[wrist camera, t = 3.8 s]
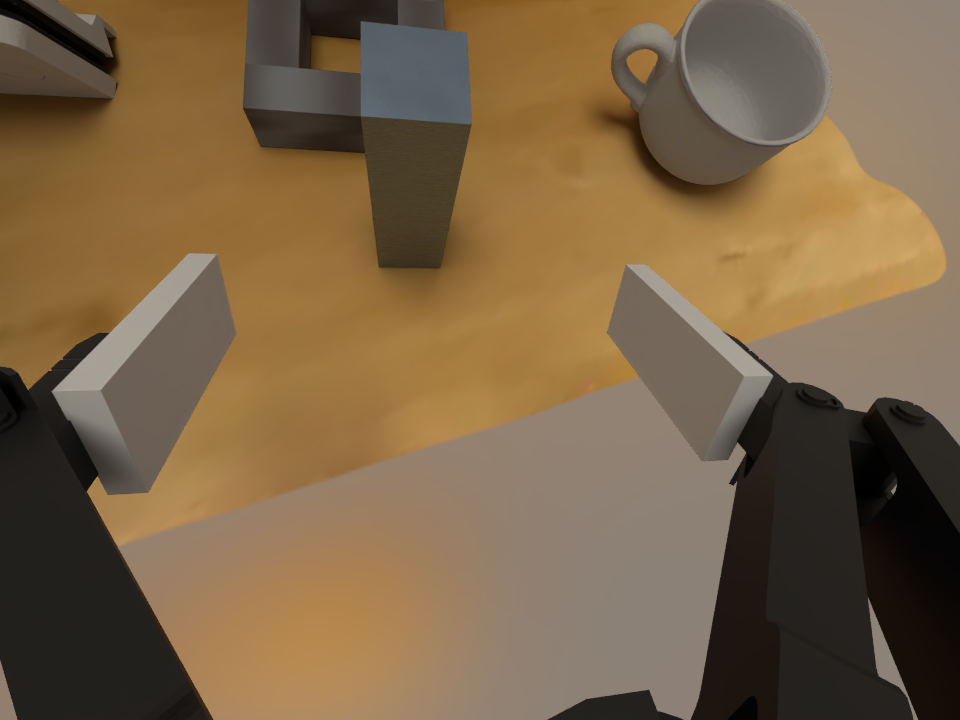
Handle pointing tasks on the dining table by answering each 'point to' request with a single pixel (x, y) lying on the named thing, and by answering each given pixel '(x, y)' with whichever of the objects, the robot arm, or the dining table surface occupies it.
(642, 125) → the teacup
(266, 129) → the brown grey rectangular blocks
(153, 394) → the robot arm
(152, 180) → the dining table surface
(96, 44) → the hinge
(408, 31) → the grey square prism block
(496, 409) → the dining table surface
